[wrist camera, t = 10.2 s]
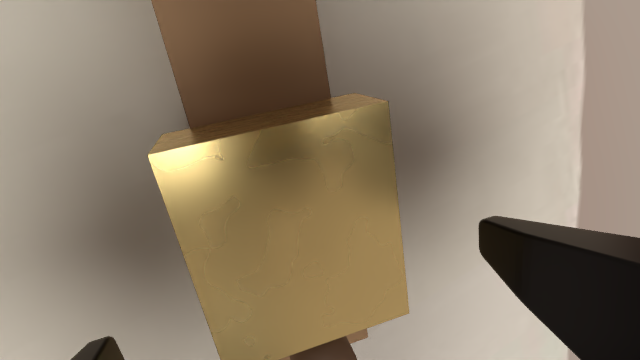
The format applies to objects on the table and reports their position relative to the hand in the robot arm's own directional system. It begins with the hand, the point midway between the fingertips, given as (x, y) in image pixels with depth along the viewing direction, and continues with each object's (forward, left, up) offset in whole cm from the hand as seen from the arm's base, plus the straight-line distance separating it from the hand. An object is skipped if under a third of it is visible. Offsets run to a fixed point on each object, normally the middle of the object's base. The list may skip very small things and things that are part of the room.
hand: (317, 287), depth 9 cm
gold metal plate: (0, 0, -4) cm, 4 cm away
